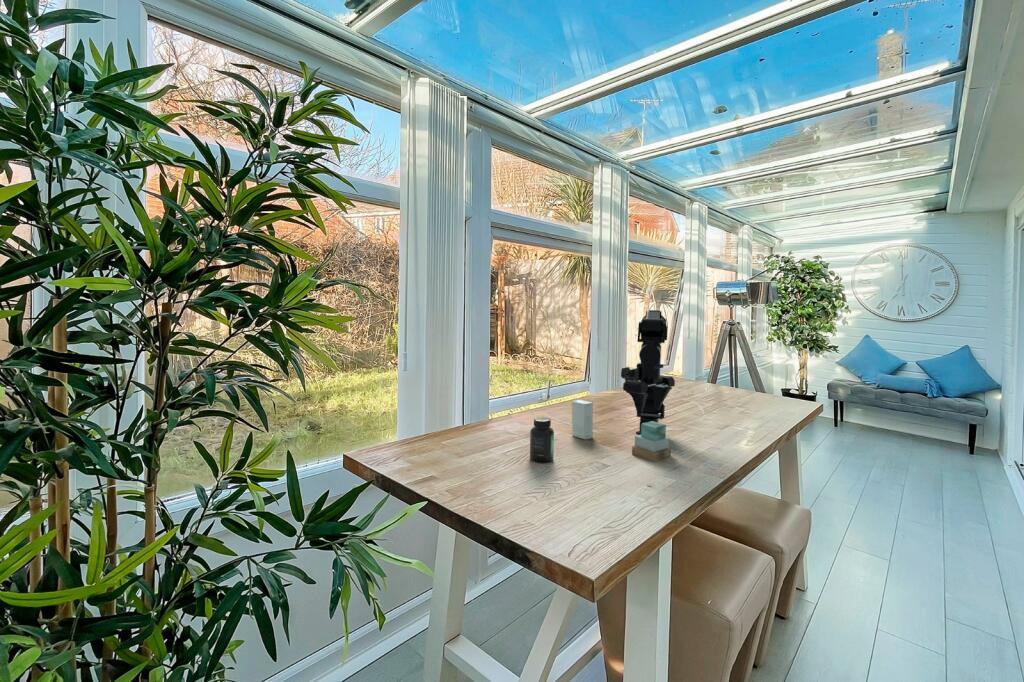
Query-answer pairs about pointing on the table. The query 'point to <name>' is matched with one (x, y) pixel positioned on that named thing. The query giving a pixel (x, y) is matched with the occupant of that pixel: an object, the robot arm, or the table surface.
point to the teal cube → (653, 430)
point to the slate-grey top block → (651, 443)
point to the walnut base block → (651, 453)
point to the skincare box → (582, 419)
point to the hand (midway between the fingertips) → (648, 411)
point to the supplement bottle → (541, 441)
